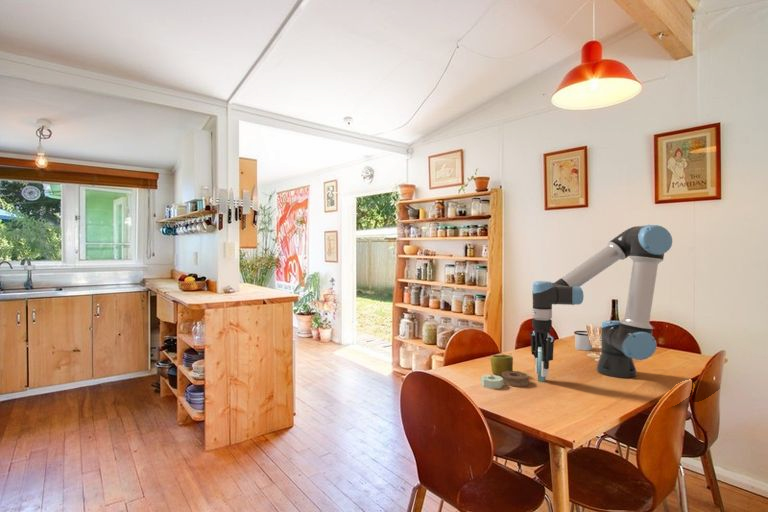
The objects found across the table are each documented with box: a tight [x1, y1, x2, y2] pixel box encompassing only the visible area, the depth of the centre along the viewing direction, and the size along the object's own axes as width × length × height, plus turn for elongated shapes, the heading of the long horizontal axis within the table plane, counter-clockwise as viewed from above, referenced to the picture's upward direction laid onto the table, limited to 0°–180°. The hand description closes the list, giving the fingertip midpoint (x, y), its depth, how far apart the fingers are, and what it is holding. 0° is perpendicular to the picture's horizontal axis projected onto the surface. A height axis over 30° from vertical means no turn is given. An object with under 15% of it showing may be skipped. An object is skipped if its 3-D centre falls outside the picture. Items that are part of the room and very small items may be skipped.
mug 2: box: [573, 330, 593, 352], centre depth 221 cm, size 12×10×9 cm
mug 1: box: [490, 353, 514, 377], centre depth 178 cm, size 12×10×10 cm
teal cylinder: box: [537, 346, 547, 383], centre depth 168 cm, size 3×3×14 cm
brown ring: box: [501, 370, 529, 388], centre depth 166 cm, size 10×10×3 cm
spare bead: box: [480, 374, 504, 390], centre depth 163 cm, size 8×8×3 cm
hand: (541, 374), depth 168 cm, fingers open, 3 cm apart
